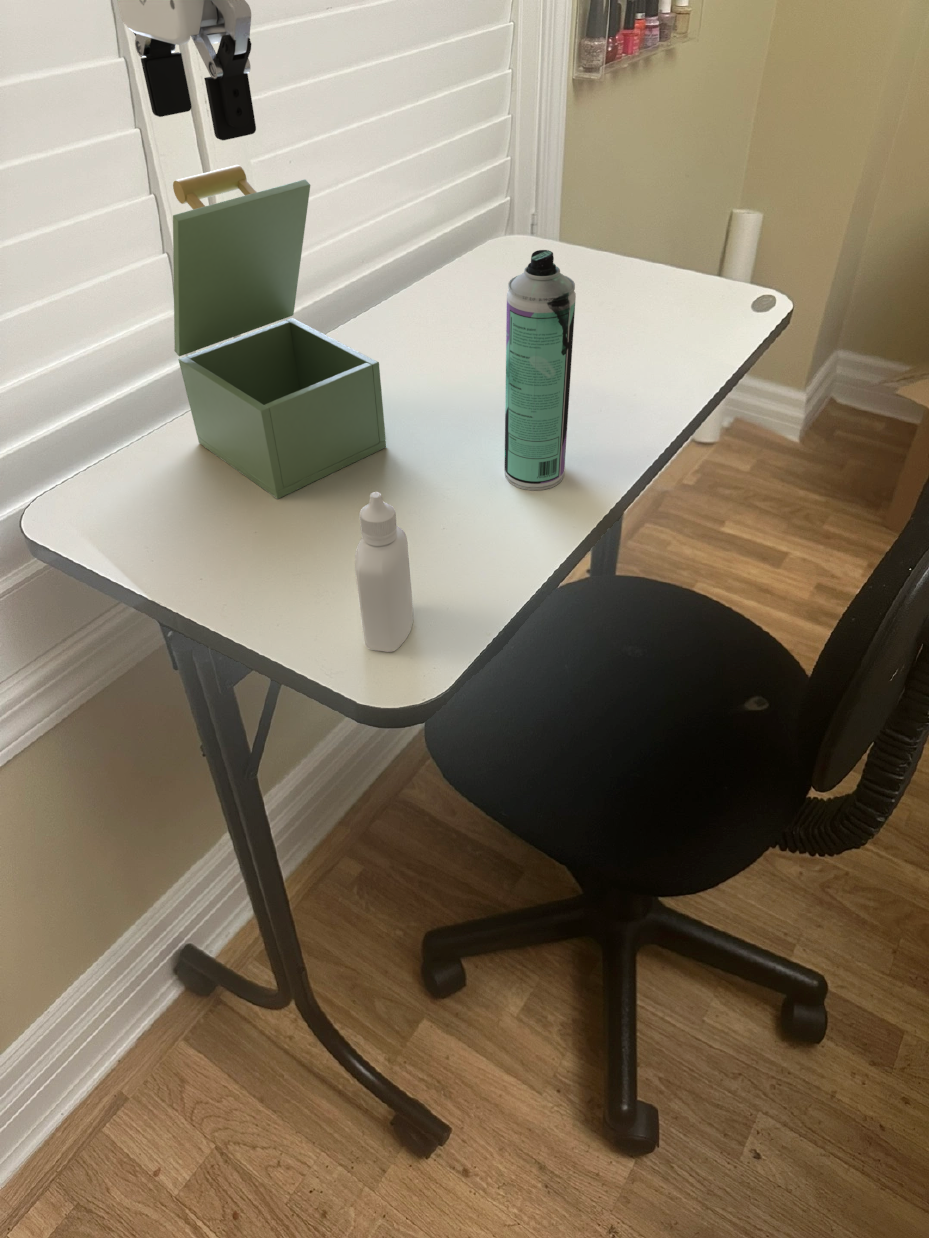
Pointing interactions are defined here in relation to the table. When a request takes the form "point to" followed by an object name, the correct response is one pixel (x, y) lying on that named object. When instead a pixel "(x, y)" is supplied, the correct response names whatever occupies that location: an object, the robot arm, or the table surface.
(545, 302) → the spray can
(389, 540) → the eye dropper bottle
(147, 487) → the table surface
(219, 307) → the lid
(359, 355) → the chest
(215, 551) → the table surface
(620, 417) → the table surface
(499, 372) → the table surface
